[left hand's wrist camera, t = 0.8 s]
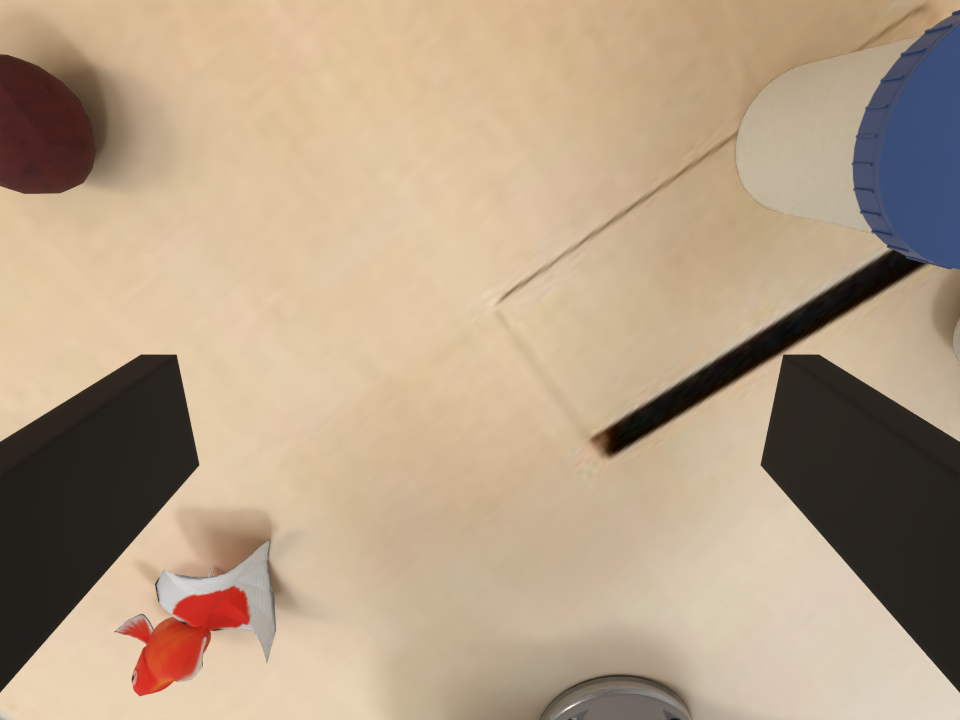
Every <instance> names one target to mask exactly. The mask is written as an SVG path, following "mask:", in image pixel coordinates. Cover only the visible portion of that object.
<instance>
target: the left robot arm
mask: <svg viewBox="0 0 960 720" xmlns="http://www.w3.org/2000/svg"><path fill="white" fill-rule="evenodd" d="M198 466H199V461H198V456H197V451H196V446H195V442H194V437H193V432H192V427H191V422H190V417H189V412H188V408H187V403H186V398H185V393H184V388H183V383H182V379H181V374H180V369H179V364H178V359H177V355H140V356H138V357H137V358H135V359H133V360H132V361H130V362H128V363H127V364H125V365H124V366H122V367H120V368H119V369H117V370H116V371H114V372H112V373H111V374H109V375H107V376H106V377H104V378H103V379H101V380H99V381H98V382H96V383H95V384H93V385H91V386H90V387H88V388H86V389H85V390H83V391H82V392H80V393H78V394H77V395H75V396H74V397H72V398H70V399H69V400H67V401H66V402H64V403H62V404H61V405H59V406H57V407H56V408H54V409H53V410H51V411H49V412H48V413H46V414H45V415H43V416H41V417H40V418H38V419H36V420H35V421H33V422H32V423H30V424H28V425H27V426H25V427H24V428H22V429H20V430H19V431H17V432H15V433H14V434H12V435H11V436H9V437H7V438H6V439H4V440H3V441H1V442H0V692H1V691H2V690H3V689H4V688H5V686H6V685H7V684H8V683H9V682H10V681H11V680H12V678H13V677H14V676H15V675H16V674H17V673H18V672H19V670H20V669H21V668H22V667H23V666H24V665H25V664H26V662H27V661H28V660H29V659H30V658H31V657H32V656H33V654H34V653H35V652H36V651H37V650H38V649H39V648H40V647H41V645H42V644H43V643H44V642H45V641H46V640H47V639H48V637H49V636H50V635H51V634H52V633H53V632H54V631H55V629H56V628H57V627H58V626H59V625H60V624H61V623H62V621H63V620H64V619H65V618H66V617H67V616H68V615H69V613H70V612H71V611H72V610H73V609H74V608H75V607H76V605H77V604H78V603H79V602H80V601H81V600H82V599H83V597H84V596H85V595H86V594H87V593H88V592H89V591H90V589H91V588H92V587H93V586H94V585H95V584H96V583H97V581H98V580H99V579H100V578H101V577H102V576H103V575H104V573H105V572H106V571H107V570H108V569H109V568H110V567H111V565H112V564H113V563H114V562H115V561H116V560H117V559H118V557H119V556H120V555H121V554H122V553H123V552H124V551H125V549H126V548H127V547H128V546H129V545H130V544H131V543H132V541H133V540H134V539H135V538H136V537H137V536H138V535H139V533H140V532H141V531H142V530H143V529H144V528H145V527H146V526H147V524H148V523H149V522H150V521H151V520H152V519H153V518H154V516H155V515H156V514H157V513H158V512H159V511H160V510H161V508H162V507H163V506H164V505H165V504H166V503H167V502H168V500H169V499H170V498H171V497H172V496H173V495H174V494H175V492H176V491H177V490H178V489H179V488H180V487H181V486H182V484H183V483H184V482H185V481H186V480H187V479H188V478H189V476H190V475H191V474H192V473H193V472H194V471H195V470H196V468H197V467H198ZM761 466H762V467H763V468H764V470H765V471H766V472H767V473H768V474H769V475H770V476H771V478H772V479H773V480H774V481H775V482H776V483H777V484H778V486H779V487H780V488H781V489H782V490H783V491H784V492H785V494H786V495H787V496H788V497H789V498H790V499H791V500H792V502H793V503H794V504H795V505H796V506H797V507H798V508H799V510H800V511H801V512H802V513H803V514H804V515H805V516H806V518H807V519H808V520H809V521H810V522H811V523H812V524H813V526H814V527H815V528H816V529H817V530H818V531H819V532H820V533H821V535H822V536H823V537H824V538H825V539H826V540H827V541H828V543H829V544H830V545H831V546H832V547H833V548H834V549H835V551H836V552H837V553H838V554H839V555H840V556H841V557H842V559H843V560H844V561H845V562H846V563H847V564H848V565H849V567H850V568H851V569H852V570H853V571H854V572H855V573H856V575H857V576H858V577H859V578H860V579H861V580H862V581H863V583H864V584H865V585H866V586H867V587H868V588H869V589H870V591H871V592H872V593H873V594H874V595H875V596H876V597H877V599H878V600H879V601H880V602H881V603H882V604H883V605H884V607H885V608H886V609H887V610H888V611H889V612H890V613H891V615H892V616H893V617H894V618H895V619H896V620H897V621H898V623H899V624H900V625H901V626H902V627H903V628H904V629H905V631H906V632H907V633H908V634H909V635H910V636H911V637H912V639H913V640H914V641H915V642H916V643H917V644H918V645H919V647H920V648H921V649H922V650H923V651H924V652H925V653H926V655H927V656H928V657H929V658H930V659H931V660H932V661H933V662H934V664H935V665H936V666H937V667H938V668H939V669H940V670H941V672H942V673H943V674H944V675H945V676H946V677H947V678H948V680H949V681H950V682H951V683H952V684H953V685H954V686H955V688H956V689H957V690H958V691H959V692H960V442H959V441H957V440H956V439H954V438H953V437H951V436H949V435H948V434H946V433H945V432H943V431H941V430H940V429H938V428H936V427H935V426H933V425H932V424H930V423H928V422H927V421H925V420H924V419H922V418H920V417H919V416H917V415H915V414H914V413H912V412H911V411H909V410H907V409H906V408H904V407H903V406H901V405H899V404H898V403H896V402H894V401H893V400H891V399H890V398H888V397H886V396H885V395H883V394H882V393H880V392H878V391H877V390H875V389H874V388H872V387H870V386H869V385H867V384H865V383H864V382H862V381H861V380H859V379H857V378H856V377H854V376H853V375H851V374H849V373H848V372H846V371H844V370H843V369H841V368H840V367H838V366H836V365H835V364H833V363H832V362H830V361H828V360H827V359H825V358H823V357H822V356H820V355H783V359H782V364H781V369H780V374H779V379H778V383H777V388H776V393H775V398H774V403H773V408H772V412H771V417H770V422H769V427H768V432H767V437H766V441H765V446H764V451H763V456H762V461H761ZM540 720H691V718H690V715H689V712H688V710H687V708H686V706H685V705H684V703H683V702H682V701H681V699H680V698H679V697H678V696H677V695H676V694H675V693H673V692H672V691H671V690H669V689H667V688H666V687H664V686H662V685H660V684H658V683H655V682H652V681H649V680H645V679H641V678H635V677H622V676H620V677H606V678H600V679H595V680H591V681H588V682H585V683H582V684H579V685H577V686H575V687H573V688H571V689H569V690H567V691H566V692H564V693H562V694H561V695H560V696H558V697H557V698H556V699H555V700H554V701H553V702H552V703H551V704H550V705H549V706H548V707H547V709H546V710H545V711H544V713H543V715H542V717H541V719H540Z"/></svg>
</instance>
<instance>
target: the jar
mask: <svg viewBox="0 0 960 720" xmlns="http://www.w3.org/2000/svg"><path fill="white" fill-rule="evenodd" d="M921 36H922V35H921ZM921 36H917V37H913V38H909V39H905V40H901V41H897V42H893V43H889V44H885V45H881V46H877V47H873V48H869V49H865V50H861V51H857V52H853V53H849V54H845V55H841V56H837V57H833V58H829V59H825V60H820V61H816V62H812V63H808V64H805V65H801V66H798V67H795V68H793V69H791V70H788V71H787V72H785V73H783V74H781V75H780V76H778V77H777V78H776V79H774V80H773V81H771V82H770V83H769V84H768V85H767V86H766V87H765V88H764V89H763V90H762V91H761V92H760V93H759V94H758V95H757V97H756V98H755V99H754V101H753V102H752V104H751V105H750V106H749V108H748V110H747V112H746V114H745V116H744V118H743V120H742V123H741V125H740V128H739V132H738V135H737V142H736V165H737V170H738V174H739V177H740V179H741V182H742V184H743V185H744V187H745V189H746V190H747V192H748V193H749V194H750V196H751V197H753V198H754V199H755V200H756V201H757V202H758V203H760V204H761V205H763V206H764V207H766V208H768V209H770V210H773V211H777V212H780V213H785V214H789V215H794V216H798V217H802V218H807V219H811V220H816V221H820V222H825V223H829V224H833V225H838V226H842V227H847V228H851V229H856V230H860V231H864V232H869V233H872V232H871V231H872V229H871V228H870V226H869V225H868V224H867V222H866V221H865V218H864V216H863V214H860V211H861V210H860V208H859V205H858V202H857V199H856V195H855V191H853V189H854V183H853V165H852V163H853V156H854V147H855V142H856V138H855V137H856V135H857V134H858V130H859V127H860V124H861V121H862V118H863V115H864V113H865V110H866V109H865V108H866V107H867V106H868V104H869V102H870V100H871V98H872V96H873V94H874V92H875V91H876V89H877V87H878V86H879V84H880V83H881V81H880V80H881V79H882V78H884V76H885V75H886V74H887V72H888V71H889V70H890V68H891V67H892V66H893V65H894V63H895V62H896V61H897V60H898V59H899V58H900V57H901V55H900V54H901V53H902V52H905V51H906V50H907V49H908V48H909V47H910V46H911V45H912V44H913V43H914V42H916V41H917V40H918V39H919V38H920V37H921ZM873 234H874V233H873Z"/></svg>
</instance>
